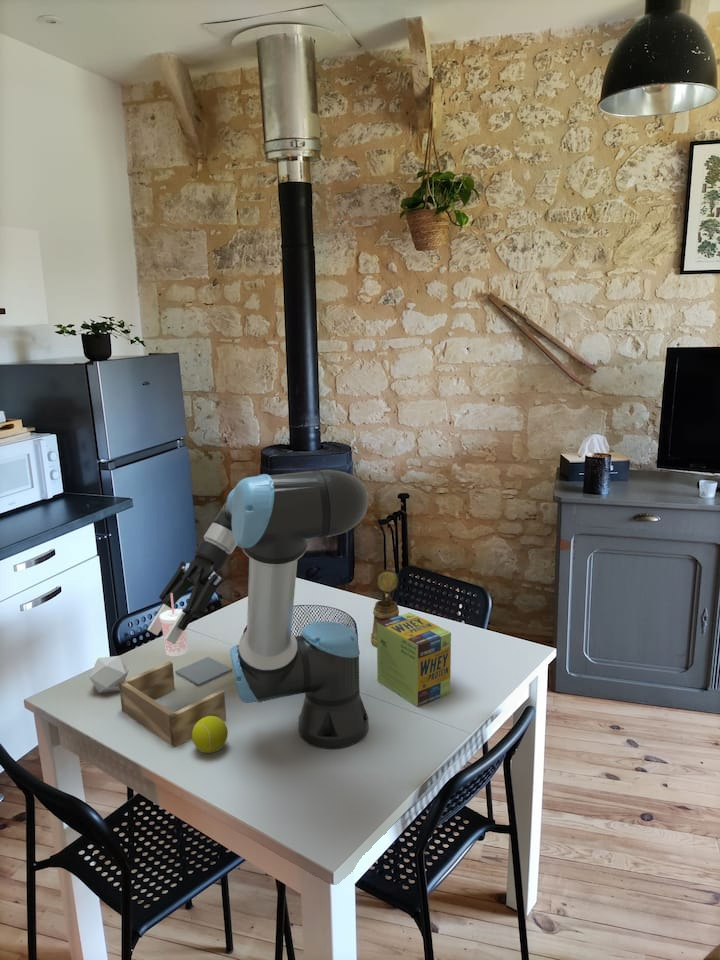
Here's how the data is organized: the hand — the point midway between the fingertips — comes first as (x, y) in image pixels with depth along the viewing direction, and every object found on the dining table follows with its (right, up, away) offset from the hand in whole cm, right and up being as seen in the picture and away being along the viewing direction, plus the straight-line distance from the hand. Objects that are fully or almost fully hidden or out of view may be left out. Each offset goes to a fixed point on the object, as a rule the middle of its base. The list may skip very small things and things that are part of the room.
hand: (160, 636), depth 152 cm
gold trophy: (+51, -10, +40) cm, 66 cm away
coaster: (+4, -14, +23) cm, 27 cm away
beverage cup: (+3, -4, +4) cm, 6 cm away
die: (-17, -16, +16) cm, 28 cm away
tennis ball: (+13, -21, -9) cm, 27 cm away
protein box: (+57, -15, +14) cm, 60 cm away
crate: (+2, -19, +4) cm, 19 cm away
